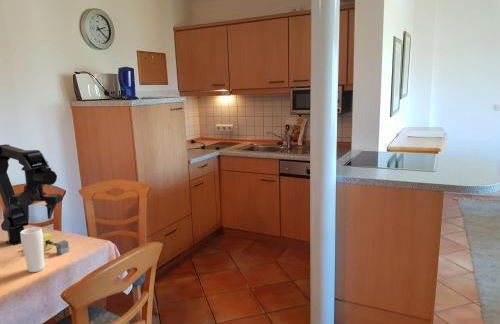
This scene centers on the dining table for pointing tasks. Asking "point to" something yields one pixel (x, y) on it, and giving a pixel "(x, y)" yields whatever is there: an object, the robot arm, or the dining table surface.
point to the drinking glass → (33, 248)
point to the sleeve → (47, 238)
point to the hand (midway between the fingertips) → (38, 218)
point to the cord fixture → (60, 246)
